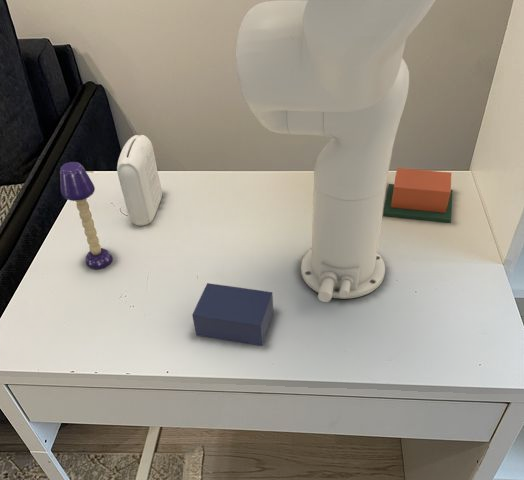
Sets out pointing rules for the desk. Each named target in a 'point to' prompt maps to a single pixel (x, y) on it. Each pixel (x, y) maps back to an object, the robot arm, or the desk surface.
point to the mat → (416, 213)
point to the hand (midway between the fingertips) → (370, 21)
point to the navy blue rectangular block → (233, 314)
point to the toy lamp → (84, 210)
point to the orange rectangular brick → (421, 190)
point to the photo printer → (139, 179)
